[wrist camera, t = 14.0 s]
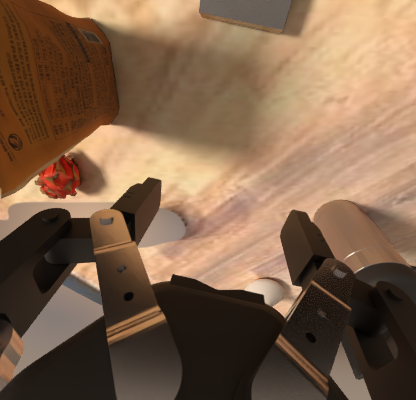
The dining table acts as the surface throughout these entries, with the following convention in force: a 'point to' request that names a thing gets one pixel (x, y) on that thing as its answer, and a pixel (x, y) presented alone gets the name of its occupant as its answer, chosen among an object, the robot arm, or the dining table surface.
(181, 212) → the dining table surface
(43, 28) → the pancake mix bag
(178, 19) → the dining table surface
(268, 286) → the flower in vase
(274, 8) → the grey block with hole
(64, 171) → the dragon fruit
